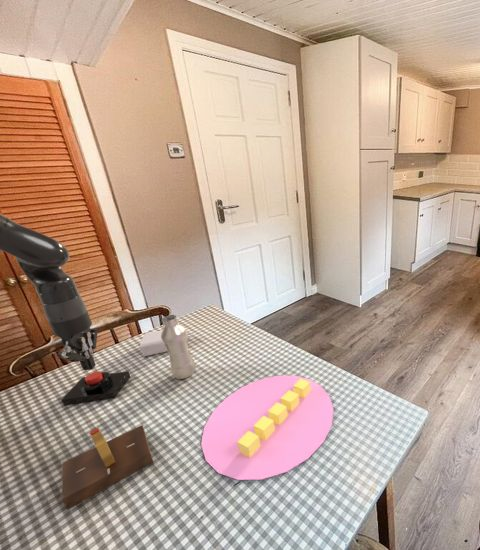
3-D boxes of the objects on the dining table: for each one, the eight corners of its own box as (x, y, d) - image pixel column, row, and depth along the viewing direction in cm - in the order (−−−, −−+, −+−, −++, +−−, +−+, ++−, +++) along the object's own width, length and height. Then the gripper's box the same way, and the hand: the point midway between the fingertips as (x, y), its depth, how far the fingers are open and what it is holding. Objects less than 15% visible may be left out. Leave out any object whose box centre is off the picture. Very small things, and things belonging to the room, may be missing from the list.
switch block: (64, 405, 82) (58, 394, 80) (85, 383, 90) (80, 372, 88) (114, 398, 84) (110, 387, 82) (130, 376, 92) (126, 366, 91)
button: (83, 386, 84) (81, 381, 83) (91, 377, 87) (89, 372, 86) (98, 384, 84) (96, 379, 84) (106, 375, 88) (104, 370, 87)
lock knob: (115, 462, 63) (105, 440, 61) (106, 467, 62) (95, 446, 60) (107, 447, 67) (98, 426, 64) (98, 452, 65) (88, 431, 63)
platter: (355, 396, 84) (355, 387, 83) (276, 509, 58) (274, 497, 56) (267, 364, 97) (266, 355, 96) (170, 443, 71) (167, 433, 70)
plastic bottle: (193, 364, 97) (178, 309, 90) (200, 374, 93) (185, 318, 85) (170, 374, 93) (153, 317, 86) (176, 385, 89) (159, 326, 81)
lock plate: (67, 509, 58) (61, 499, 57) (67, 472, 65) (62, 461, 63) (153, 462, 67) (149, 452, 65) (145, 433, 73) (142, 424, 72)
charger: (194, 346, 106) (143, 358, 101) (195, 333, 114) (148, 343, 108) (191, 335, 105) (139, 346, 99) (193, 322, 112) (145, 332, 107)
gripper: (67, 325, 73) (91, 382, 79) (98, 301, 85) (117, 352, 91) (29, 329, 71) (57, 387, 78) (67, 303, 83) (88, 355, 90)
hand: (90, 368), depth 84 cm, fingers closed
